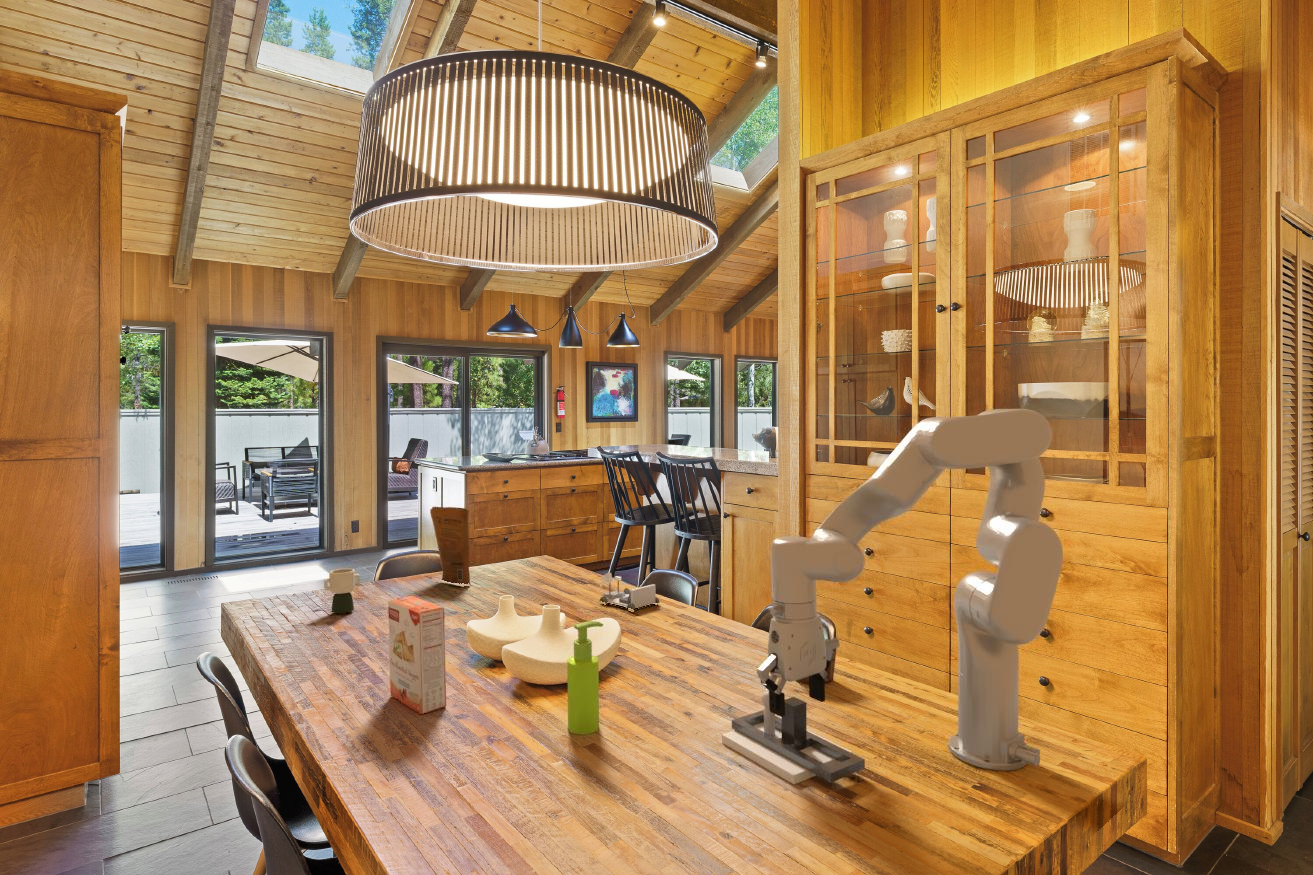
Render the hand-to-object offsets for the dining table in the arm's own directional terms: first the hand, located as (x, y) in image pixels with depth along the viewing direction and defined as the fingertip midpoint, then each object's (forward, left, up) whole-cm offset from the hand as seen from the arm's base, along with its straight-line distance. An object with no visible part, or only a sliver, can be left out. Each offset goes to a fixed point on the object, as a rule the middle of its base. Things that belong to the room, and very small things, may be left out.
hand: (797, 706), depth 123 cm
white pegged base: (+2, +1, -9) cm, 9 cm away
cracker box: (+62, +48, -9) cm, 79 cm away
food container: (+23, -27, -9) cm, 37 cm away
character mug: (+145, +47, -9) cm, 153 cm away
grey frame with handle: (0, +1, -7) cm, 7 cm away
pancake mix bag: (+162, +7, -9) cm, 163 cm away
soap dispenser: (+31, +25, -9) cm, 41 cm away
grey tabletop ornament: (+103, -29, -9) cm, 108 cm away
